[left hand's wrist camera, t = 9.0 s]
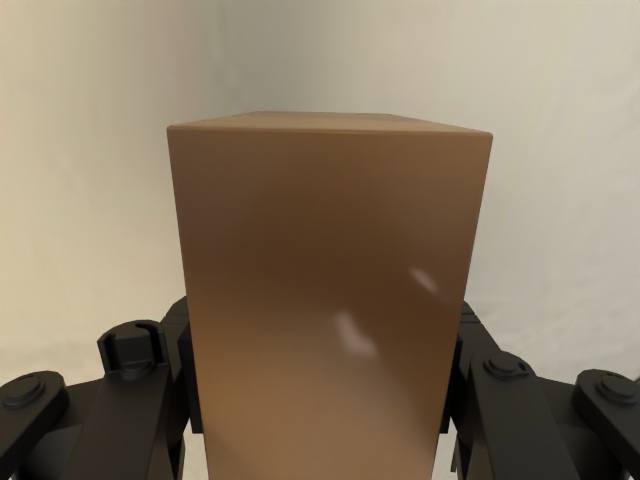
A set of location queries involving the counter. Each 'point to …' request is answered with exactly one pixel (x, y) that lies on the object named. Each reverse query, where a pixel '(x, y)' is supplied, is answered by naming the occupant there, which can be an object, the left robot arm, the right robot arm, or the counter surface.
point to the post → (324, 286)
